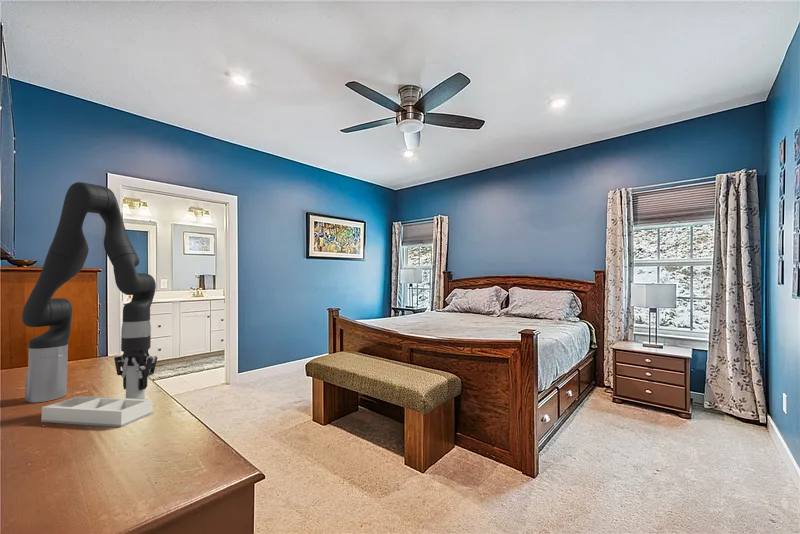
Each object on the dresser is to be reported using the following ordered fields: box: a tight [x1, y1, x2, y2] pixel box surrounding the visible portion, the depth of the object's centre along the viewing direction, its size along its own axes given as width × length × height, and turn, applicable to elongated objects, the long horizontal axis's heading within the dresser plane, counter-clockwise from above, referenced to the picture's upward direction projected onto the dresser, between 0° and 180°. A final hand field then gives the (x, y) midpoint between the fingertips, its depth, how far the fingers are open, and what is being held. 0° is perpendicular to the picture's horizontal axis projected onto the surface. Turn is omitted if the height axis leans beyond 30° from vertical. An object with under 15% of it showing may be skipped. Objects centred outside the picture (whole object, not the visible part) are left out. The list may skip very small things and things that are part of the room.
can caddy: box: [40, 395, 154, 428], centre depth 97 cm, size 26×9×4 cm, turn 81°
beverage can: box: [125, 365, 146, 399], centre depth 109 cm, size 5×5×12 cm
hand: (135, 388), depth 109 cm, fingers closed on beverage can, 5 cm apart
